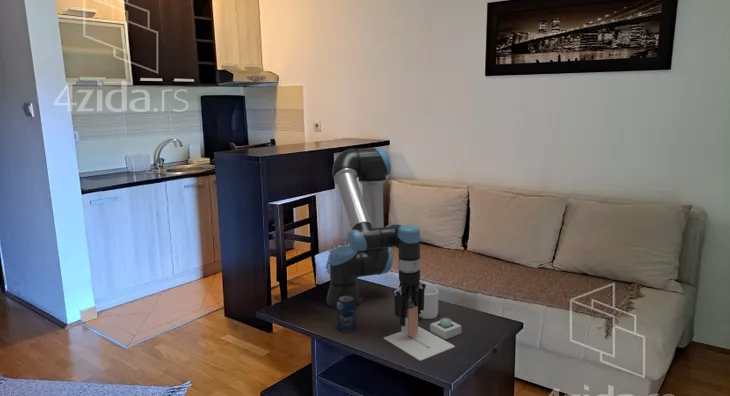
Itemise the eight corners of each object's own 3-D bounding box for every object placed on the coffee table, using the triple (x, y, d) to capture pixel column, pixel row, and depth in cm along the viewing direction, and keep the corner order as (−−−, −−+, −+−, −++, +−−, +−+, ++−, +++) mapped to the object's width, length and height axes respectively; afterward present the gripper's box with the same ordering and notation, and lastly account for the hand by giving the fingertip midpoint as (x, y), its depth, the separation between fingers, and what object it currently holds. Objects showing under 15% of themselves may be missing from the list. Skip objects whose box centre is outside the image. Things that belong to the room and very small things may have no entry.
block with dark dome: (402, 332, 182) (401, 302, 180) (410, 329, 184) (410, 299, 182) (409, 336, 179) (408, 305, 176) (417, 333, 181) (417, 303, 179)
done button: (437, 327, 185) (438, 319, 185) (445, 324, 188) (445, 317, 187) (445, 331, 182) (445, 323, 181) (453, 328, 184) (453, 320, 184)
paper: (383, 338, 181) (383, 337, 181) (417, 326, 190) (417, 325, 190) (420, 361, 165) (420, 360, 165) (455, 346, 174) (455, 346, 174)
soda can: (341, 333, 186) (340, 303, 184) (335, 326, 192) (334, 296, 190) (358, 330, 188) (358, 299, 186) (352, 322, 195) (351, 293, 192)
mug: (423, 324, 192) (423, 299, 190) (406, 318, 198) (406, 293, 196) (442, 315, 200) (442, 290, 198) (425, 309, 206) (426, 285, 204)
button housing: (430, 331, 186) (430, 323, 186) (445, 325, 191) (446, 318, 190) (445, 339, 180) (445, 331, 179) (461, 333, 184) (461, 325, 184)
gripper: (397, 277, 169) (397, 342, 173) (434, 267, 179) (434, 329, 183) (383, 271, 175) (384, 334, 180) (420, 262, 185) (420, 322, 189)
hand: (409, 331), depth 181 cm, fingers closed on block with dark dome, 4 cm apart
